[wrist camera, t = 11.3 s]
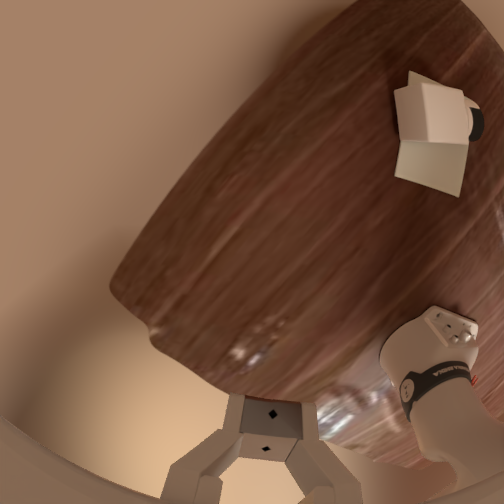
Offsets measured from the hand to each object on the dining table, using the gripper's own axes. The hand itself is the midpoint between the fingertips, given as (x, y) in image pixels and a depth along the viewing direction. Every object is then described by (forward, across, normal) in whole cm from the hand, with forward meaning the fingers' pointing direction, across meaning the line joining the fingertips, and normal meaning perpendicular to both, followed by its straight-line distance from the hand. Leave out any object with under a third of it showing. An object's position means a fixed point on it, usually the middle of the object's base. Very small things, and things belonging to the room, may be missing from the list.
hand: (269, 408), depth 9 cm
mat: (+31, -21, -16) cm, 41 cm away
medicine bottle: (+26, -14, -16) cm, 34 cm away
